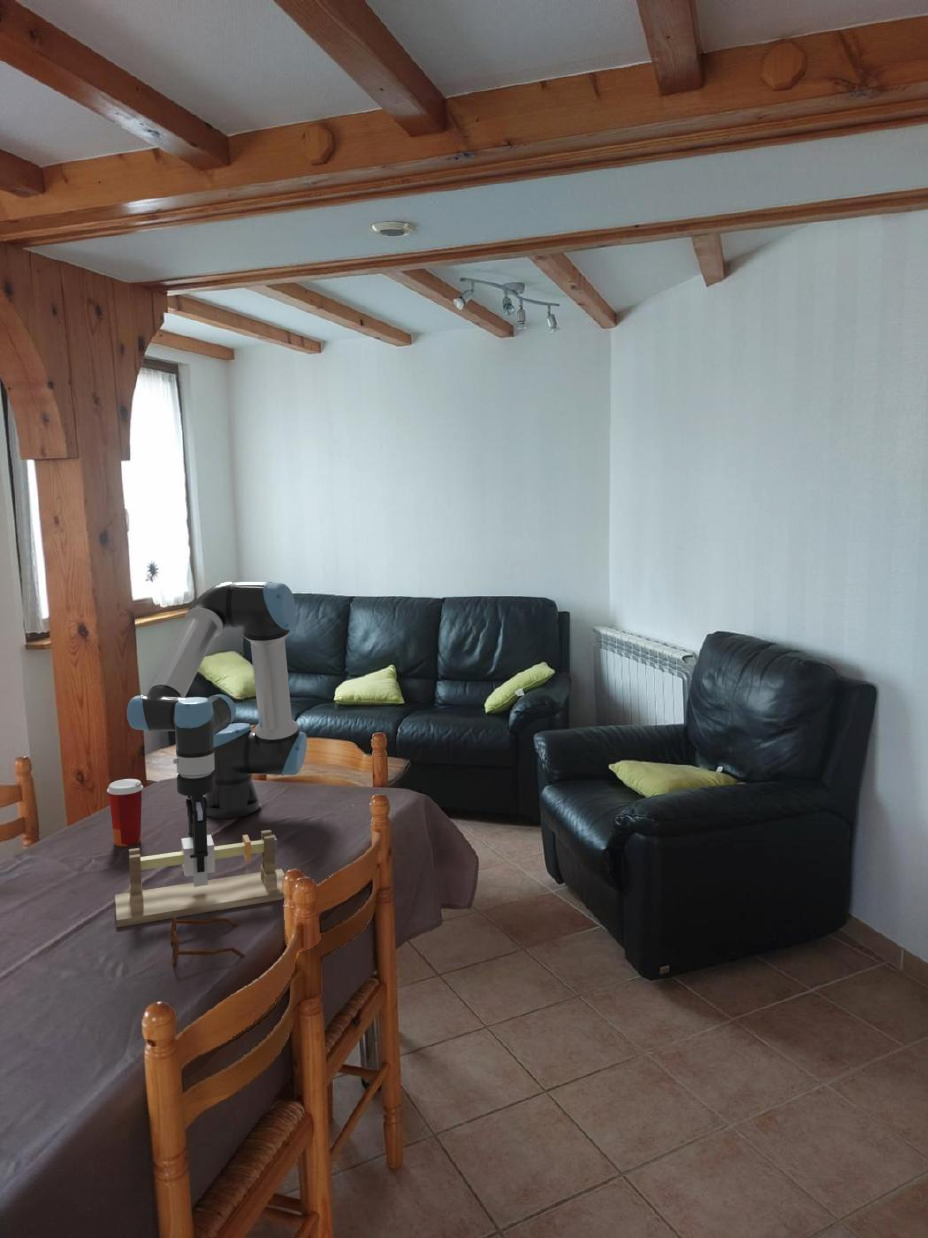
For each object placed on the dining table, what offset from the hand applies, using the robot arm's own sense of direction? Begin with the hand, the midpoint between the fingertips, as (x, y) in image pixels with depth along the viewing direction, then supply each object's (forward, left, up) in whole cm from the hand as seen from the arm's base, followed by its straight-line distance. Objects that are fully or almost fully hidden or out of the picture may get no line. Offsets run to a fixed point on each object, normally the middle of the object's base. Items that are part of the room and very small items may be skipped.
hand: (198, 878), depth 181 cm
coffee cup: (-39, -13, -5) cm, 41 cm away
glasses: (+20, -1, -6) cm, 21 cm away
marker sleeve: (0, 0, +2) cm, 2 cm away
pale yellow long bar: (0, +2, +3) cm, 3 cm away
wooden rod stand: (0, +1, -5) cm, 5 cm away
